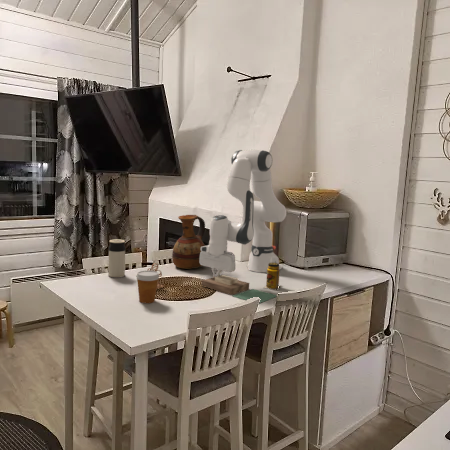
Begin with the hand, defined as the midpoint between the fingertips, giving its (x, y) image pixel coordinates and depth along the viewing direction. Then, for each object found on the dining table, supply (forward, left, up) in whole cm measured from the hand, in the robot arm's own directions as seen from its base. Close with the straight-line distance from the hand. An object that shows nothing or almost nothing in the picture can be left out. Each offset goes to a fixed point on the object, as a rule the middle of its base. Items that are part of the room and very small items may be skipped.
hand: (216, 277), depth 204 cm
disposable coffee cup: (+40, -4, -4) cm, 40 cm away
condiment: (-19, +21, -4) cm, 28 cm away
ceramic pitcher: (-17, -33, -4) cm, 38 cm away
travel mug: (+25, -44, -4) cm, 51 cm away
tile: (0, +6, -1) cm, 6 cm away
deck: (0, +6, -4) cm, 7 cm away
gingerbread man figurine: (+26, -15, -4) cm, 30 cm away
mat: (0, +23, -4) cm, 23 cm away
